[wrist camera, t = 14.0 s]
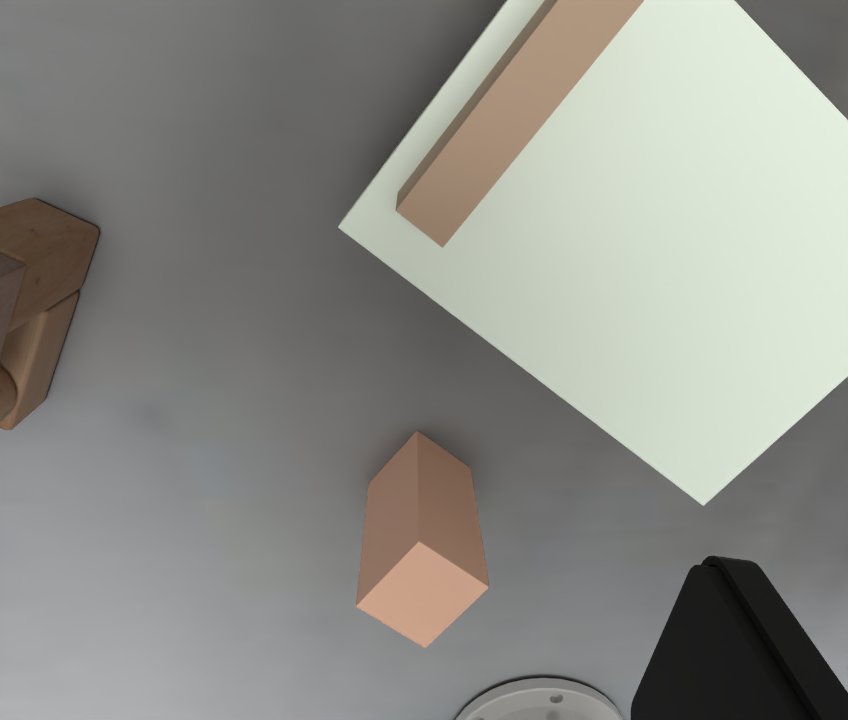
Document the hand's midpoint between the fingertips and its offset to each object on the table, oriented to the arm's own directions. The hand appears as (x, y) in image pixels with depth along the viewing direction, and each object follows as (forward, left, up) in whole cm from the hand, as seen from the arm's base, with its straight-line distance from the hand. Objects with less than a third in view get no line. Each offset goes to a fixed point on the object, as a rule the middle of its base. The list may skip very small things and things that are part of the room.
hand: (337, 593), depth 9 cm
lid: (-8, -7, -21) cm, 23 cm away
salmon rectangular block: (-10, +11, -27) cm, 31 cm away
